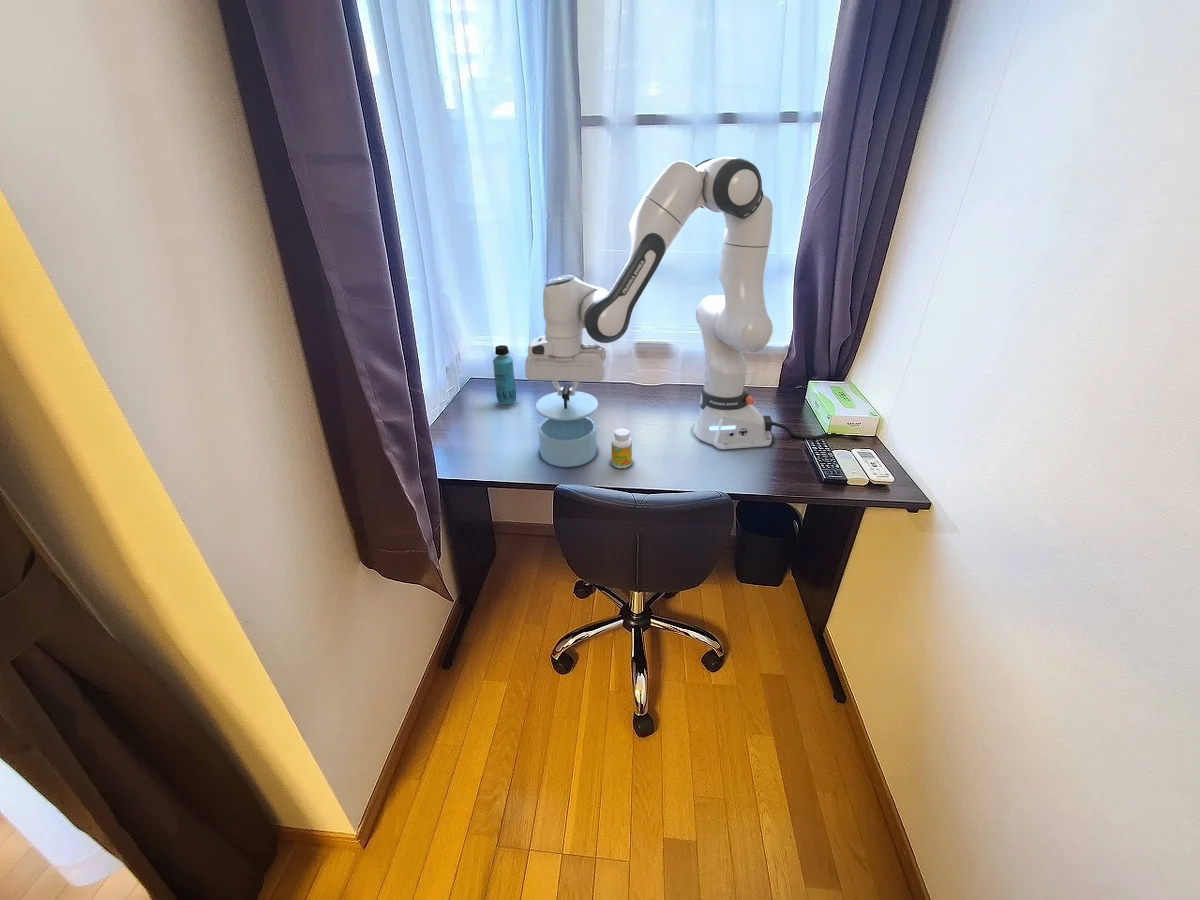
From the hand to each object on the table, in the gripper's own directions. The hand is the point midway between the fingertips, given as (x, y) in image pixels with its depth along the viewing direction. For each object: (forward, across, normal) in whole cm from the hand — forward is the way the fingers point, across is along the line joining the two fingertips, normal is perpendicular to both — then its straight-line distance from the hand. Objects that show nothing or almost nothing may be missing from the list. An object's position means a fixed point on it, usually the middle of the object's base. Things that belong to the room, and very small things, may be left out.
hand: (566, 394), depth 132 cm
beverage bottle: (+18, +24, -29) cm, 42 cm away
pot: (+18, 0, 0) cm, 18 cm away
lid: (+3, 0, 0) cm, 3 cm away
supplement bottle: (+18, -15, +5) cm, 24 cm away
